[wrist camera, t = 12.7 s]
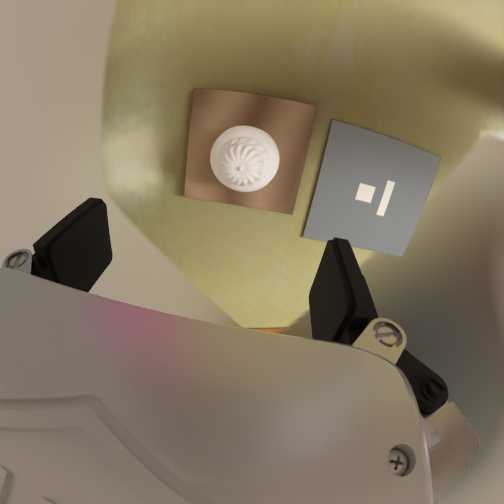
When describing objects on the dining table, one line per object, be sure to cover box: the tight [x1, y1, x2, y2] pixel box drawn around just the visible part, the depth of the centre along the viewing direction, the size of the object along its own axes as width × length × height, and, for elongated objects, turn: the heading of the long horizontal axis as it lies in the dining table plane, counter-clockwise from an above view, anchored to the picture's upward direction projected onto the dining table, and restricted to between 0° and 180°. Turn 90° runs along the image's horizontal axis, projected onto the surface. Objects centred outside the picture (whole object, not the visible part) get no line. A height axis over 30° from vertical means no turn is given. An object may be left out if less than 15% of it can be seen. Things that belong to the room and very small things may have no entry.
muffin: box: [210, 126, 280, 192], centre depth 23 cm, size 6×6×7 cm
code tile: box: [303, 119, 440, 256], centre depth 29 cm, size 14×14×1 cm
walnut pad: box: [184, 88, 317, 215], centre depth 27 cm, size 12×12×1 cm
